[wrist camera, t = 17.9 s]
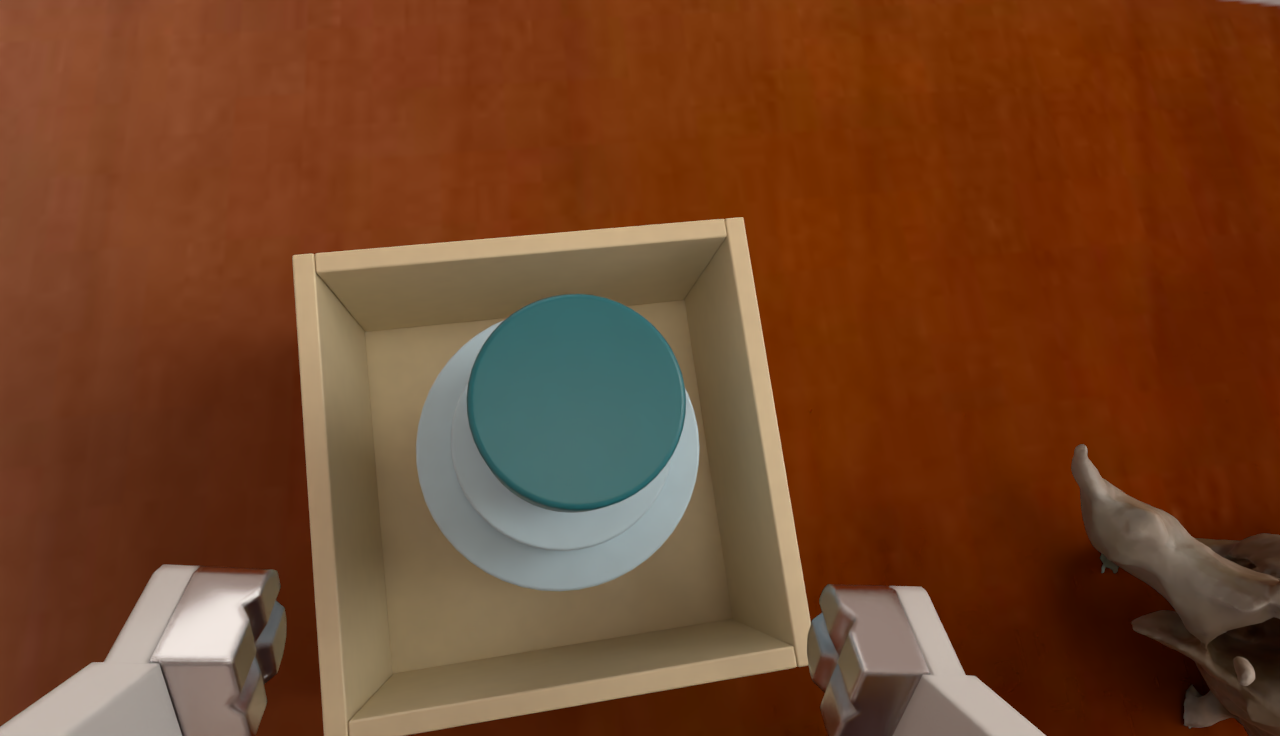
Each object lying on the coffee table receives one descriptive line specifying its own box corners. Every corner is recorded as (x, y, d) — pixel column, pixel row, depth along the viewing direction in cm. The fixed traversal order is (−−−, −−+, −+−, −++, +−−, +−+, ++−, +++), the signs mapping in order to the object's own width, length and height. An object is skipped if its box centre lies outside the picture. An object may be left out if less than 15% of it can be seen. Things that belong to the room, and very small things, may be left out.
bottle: (466, 582, 24) (367, 665, 10) (447, 394, 25) (332, 208, 10) (653, 554, 25) (827, 590, 10) (628, 374, 26) (755, 174, 11)
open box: (379, 691, 24) (324, 750, 17) (350, 322, 26) (291, 254, 19) (746, 630, 25) (818, 664, 19) (694, 288, 27) (743, 216, 21)
